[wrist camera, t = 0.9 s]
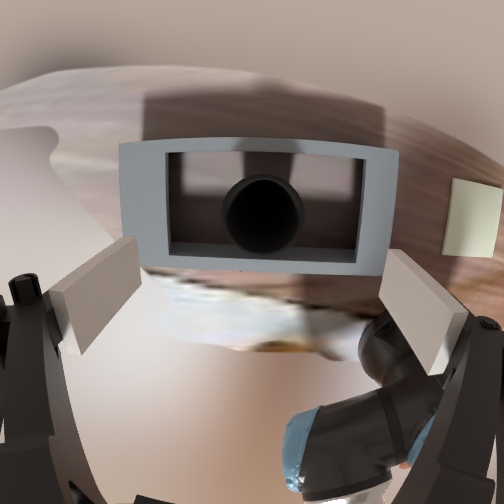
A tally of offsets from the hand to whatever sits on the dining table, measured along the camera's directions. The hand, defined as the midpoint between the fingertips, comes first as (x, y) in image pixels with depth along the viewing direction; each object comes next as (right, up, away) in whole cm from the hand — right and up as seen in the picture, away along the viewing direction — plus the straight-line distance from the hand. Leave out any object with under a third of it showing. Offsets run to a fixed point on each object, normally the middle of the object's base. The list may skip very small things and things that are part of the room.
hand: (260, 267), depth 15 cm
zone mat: (+35, +6, +22) cm, 42 cm away
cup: (+1, +8, +24) cm, 25 cm away
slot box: (0, +8, +24) cm, 25 cm away
